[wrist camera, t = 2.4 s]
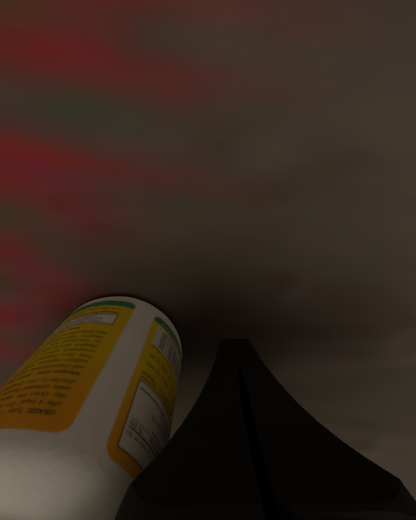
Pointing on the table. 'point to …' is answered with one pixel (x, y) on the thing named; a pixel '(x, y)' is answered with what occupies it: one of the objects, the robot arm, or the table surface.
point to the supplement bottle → (88, 412)
